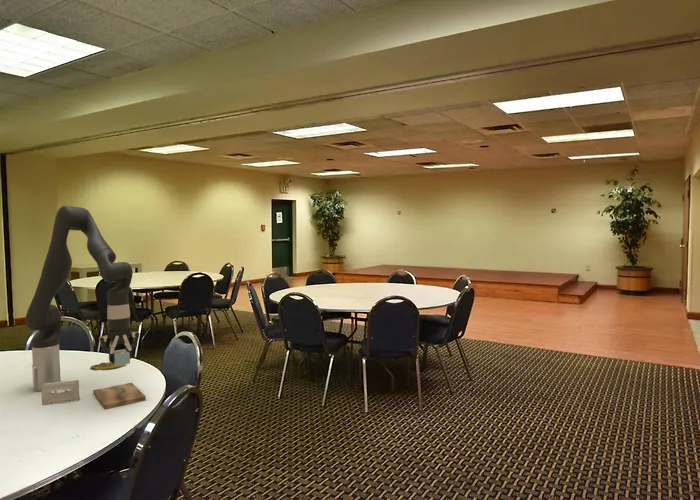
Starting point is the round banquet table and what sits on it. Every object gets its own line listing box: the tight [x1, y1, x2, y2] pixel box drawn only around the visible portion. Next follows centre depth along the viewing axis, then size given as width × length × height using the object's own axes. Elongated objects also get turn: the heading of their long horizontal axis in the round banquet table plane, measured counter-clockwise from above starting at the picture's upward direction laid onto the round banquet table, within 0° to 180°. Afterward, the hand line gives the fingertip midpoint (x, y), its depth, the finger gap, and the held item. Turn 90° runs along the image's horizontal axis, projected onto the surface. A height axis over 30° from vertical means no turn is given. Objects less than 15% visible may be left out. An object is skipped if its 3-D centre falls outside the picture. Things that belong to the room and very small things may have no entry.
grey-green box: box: [113, 348, 131, 366], centre depth 179 cm, size 7×5×4 cm
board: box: [92, 382, 147, 410], centre depth 183 cm, size 14×20×4 cm
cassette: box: [41, 379, 81, 406], centre depth 178 cm, size 12×2×8 cm, turn 113°
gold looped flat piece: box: [90, 361, 128, 371], centre depth 221 cm, size 9×5×15 cm
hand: (120, 361), depth 179 cm, fingers closed on grey-green box, 4 cm apart
